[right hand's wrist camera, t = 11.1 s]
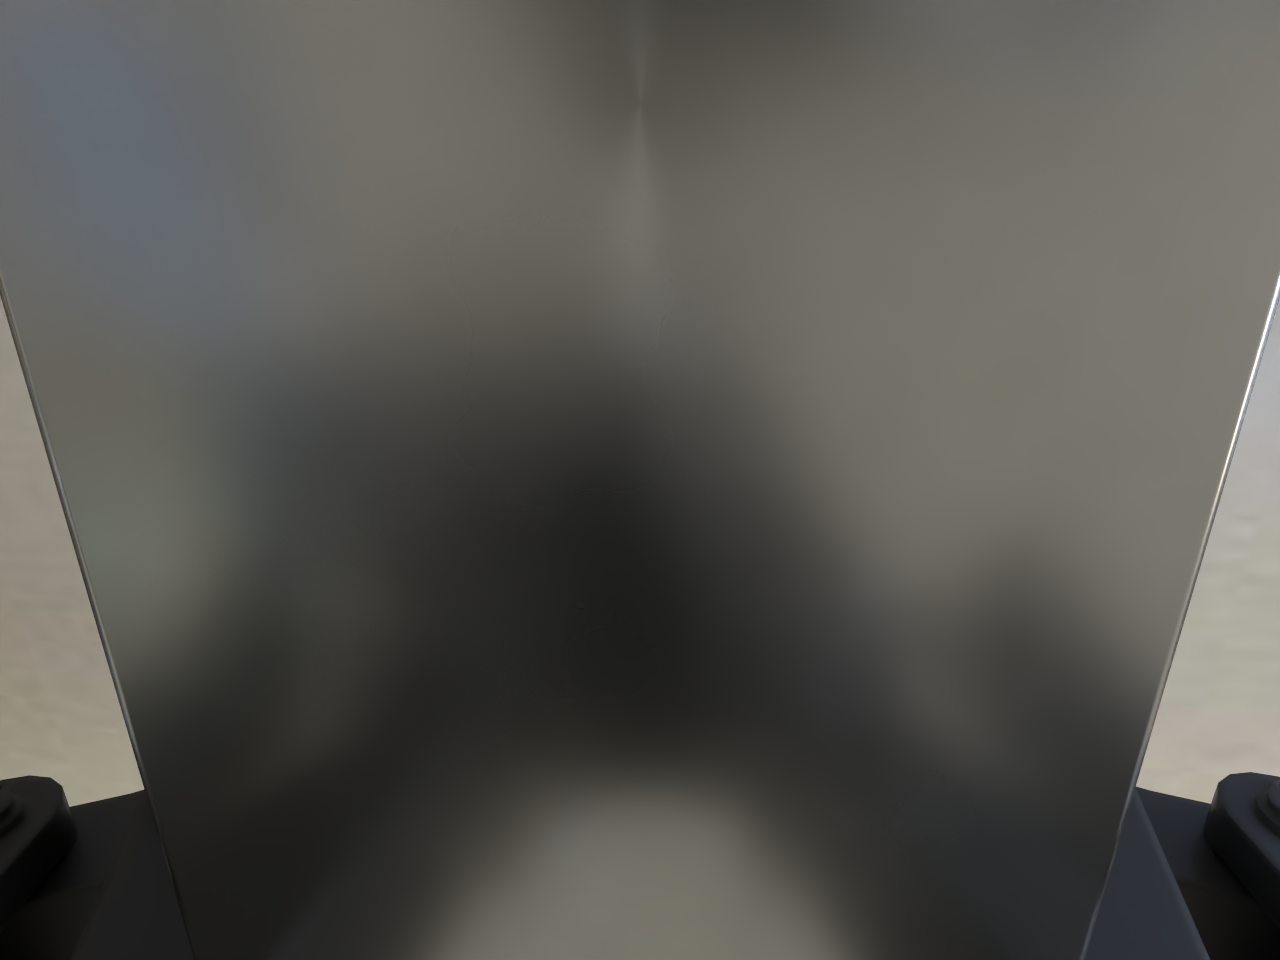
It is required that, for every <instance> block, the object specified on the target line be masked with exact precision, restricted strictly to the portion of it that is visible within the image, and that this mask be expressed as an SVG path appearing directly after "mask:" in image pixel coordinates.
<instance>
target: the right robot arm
mask: <svg viewBox="0 0 1280 960" xmlns="http://www.w3.org/2000/svg"><path fill="white" fill-rule="evenodd" d="M0 960H194V956H193V953H192V949H191V946H190V942H189V939H188V936H187V932H186V929H185V925H184V922H183V919H182V915H181V912H180V908H179V905H178V901H177V898H176V895H175V891H174V888H173V884H172V881H171V877H170V874H169V871H168V867H167V864H166V860H165V857H164V854H163V850H162V847H161V843H160V840H159V836H158V833H157V830H156V826H155V823H154V819H153V816H152V812H151V809H150V806H149V802H148V799H147V795H146V792H145V789H144V790H142V791H138V792H135V793H131V794H127V795H122V796H118V797H113V798H109V799H104V800H100V801H95V802H91V803H86V804H82V805H77V806H73V807H69V805H68V802H67V799H66V796H65V793H64V790H63V787H62V786H61V785H60V784H58V783H57V782H56V781H54V780H53V779H52V778H49V777H39V776H24V777H18V778H12V779H5V780H1V781H0ZM1084 960H1280V777H1277V776H1271V775H1265V774H1259V773H1252V772H1248V773H1238V774H1230V775H1228V776H1227V777H1226V778H1224V779H1223V780H1222V781H1220V782H1219V783H1218V785H1217V788H1216V791H1215V794H1214V797H1213V800H1212V803H1211V804H1208V803H1204V802H1199V801H1195V800H1190V799H1186V798H1181V797H1176V796H1172V795H1167V794H1163V793H1158V792H1154V791H1149V790H1146V789H1142V788H1139V787H1135V790H1134V793H1133V796H1132V800H1131V803H1130V807H1129V810H1128V813H1127V817H1126V820H1125V824H1124V827H1123V830H1122V834H1121V837H1120V841H1119V844H1118V847H1117V851H1116V854H1115V857H1114V861H1113V864H1112V868H1111V871H1110V874H1109V878H1108V881H1107V885H1106V888H1105V891H1104V895H1103V898H1102V902H1101V905H1100V908H1099V912H1098V915H1097V919H1096V922H1095V925H1094V929H1093V932H1092V936H1091V939H1090V942H1089V946H1088V949H1087V952H1086V956H1085V959H1084Z"/></svg>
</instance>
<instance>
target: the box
mask: <svg viewBox="0 0 1280 960" xmlns="http://www.w3.org/2000/svg"><path fill="white" fill-rule="evenodd" d="M0 296H1V299H2V303H3V306H4V310H5V313H6V316H7V320H8V323H9V327H10V330H11V333H12V337H13V340H14V344H15V347H16V351H17V354H18V357H19V361H20V364H21V368H22V371H23V375H24V378H25V381H26V385H27V388H28V392H29V395H30V398H31V402H32V405H33V409H34V412H35V416H36V419H37V422H38V426H39V429H40V433H41V436H42V440H43V443H44V446H45V450H46V453H47V457H48V460H49V463H50V467H51V470H52V474H53V477H54V481H55V484H56V487H57V491H58V494H59V498H60V501H61V505H62V508H63V511H64V515H65V518H66V522H67V525H68V529H69V532H70V535H71V539H72V542H73V546H74V549H75V552H76V556H77V559H78V563H79V566H80V570H81V573H82V576H83V580H84V583H85V587H86V590H87V594H88V597H89V600H90V604H91V607H92V611H93V614H94V617H95V621H96V624H97V628H98V631H99V635H100V638H101V641H102V645H103V648H104V652H105V655H106V659H107V662H108V665H109V669H110V672H111V676H112V679H113V682H114V686H115V689H116V693H117V696H118V700H119V703H120V706H121V710H122V713H123V717H124V720H125V724H126V727H127V730H128V734H129V737H130V741H131V744H132V747H133V751H134V754H135V758H136V761H137V765H138V768H139V771H140V775H141V778H142V782H143V785H144V789H145V792H146V795H147V799H148V802H149V806H150V809H151V812H152V816H153V819H154V823H155V826H156V830H157V833H158V836H159V840H160V843H161V847H162V850H163V854H164V857H165V860H166V864H167V867H168V871H169V874H170V877H171V881H172V884H173V888H174V891H175V895H176V898H177V901H178V905H179V908H180V912H181V915H182V919H183V922H184V925H185V929H186V932H187V936H188V939H189V942H190V946H191V949H192V953H193V956H194V960H1084V959H1085V956H1086V952H1087V949H1088V946H1089V942H1090V939H1091V936H1092V932H1093V929H1094V925H1095V922H1096V919H1097V915H1098V912H1099V908H1100V905H1101V902H1102V898H1103V895H1104V891H1105V888H1106V885H1107V881H1108V878H1109V874H1110V871H1111V868H1112V864H1113V861H1114V857H1115V854H1116V851H1117V847H1118V844H1119V841H1120V837H1121V834H1122V830H1123V827H1124V824H1125V820H1126V817H1127V813H1128V810H1129V807H1130V803H1131V800H1132V796H1133V793H1134V790H1135V786H1136V783H1137V779H1138V776H1139V773H1140V769H1141V766H1142V762H1143V759H1144V756H1145V752H1146V749H1147V745H1148V742H1149V739H1150V735H1151V732H1152V729H1153V725H1154V722H1155V718H1156V715H1157V712H1158V708H1159V705H1160V701H1161V698H1162V695H1163V691H1164V688H1165V684H1166V681H1167V678H1168V674H1169V671H1170V667H1171V664H1172V661H1173V657H1174V654H1175V650H1176V647H1177V644H1178V640H1179V637H1180V634H1181V630H1182V627H1183V623H1184V620H1185V617H1186V613H1187V610H1188V606H1189V603H1190V600H1191V596H1192V593H1193V589H1194V586H1195V583H1196V579H1197V576H1198V572H1199V569H1200V566H1201V562H1202V559H1203V555H1204V552H1205V549H1206V545H1207V542H1208V538H1209V535H1210V532H1211V528H1212V525H1213V522H1214V518H1215V515H1216V511H1217V508H1218V505H1219V501H1220V498H1221V494H1222V491H1223V488H1224V484H1225V481H1226V477H1227V474H1228V471H1229V467H1230V464H1231V460H1232V457H1233V454H1234V450H1235V447H1236V443H1237V440H1238V437H1239V433H1240V430H1241V427H1242V423H1243V420H1244V416H1245V413H1246V410H1247V406H1248V403H1249V399H1250V396H1251V393H1252V389H1253V386H1254V382H1255V379H1256V376H1257V372H1258V369H1259V365H1260V362H1261V359H1262V355H1263V352H1264V348H1265V345H1266V342H1267V338H1268V335H1269V331H1270V328H1271V325H1272V321H1273V318H1274V315H1275V311H1276V308H1277V304H1278V301H1279V298H1280V0H0Z"/></svg>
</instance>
